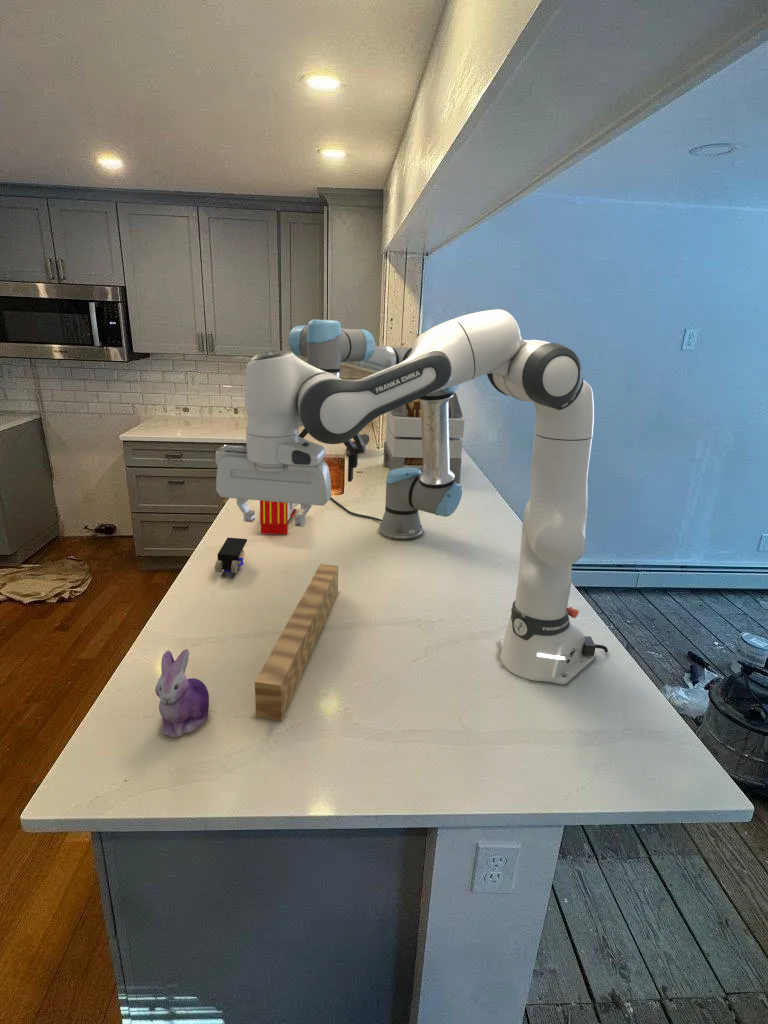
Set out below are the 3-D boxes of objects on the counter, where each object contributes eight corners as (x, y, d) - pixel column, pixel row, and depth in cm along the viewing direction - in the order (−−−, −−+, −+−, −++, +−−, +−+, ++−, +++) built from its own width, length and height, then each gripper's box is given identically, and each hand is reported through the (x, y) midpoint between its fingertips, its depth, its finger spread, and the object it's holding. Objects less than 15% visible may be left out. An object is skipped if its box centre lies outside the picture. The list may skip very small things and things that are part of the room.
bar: (320, 590, 158) (320, 563, 155) (337, 592, 157) (338, 565, 154) (255, 717, 108) (254, 682, 106) (281, 721, 108) (280, 685, 105)
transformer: (382, 463, 289) (386, 382, 275) (445, 464, 293) (451, 384, 279) (390, 482, 257) (394, 392, 243) (460, 483, 261) (468, 394, 247)
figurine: (162, 747, 100) (154, 675, 95) (155, 711, 109) (147, 644, 103) (217, 731, 104) (212, 662, 99) (206, 698, 113) (201, 633, 108)
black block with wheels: (238, 584, 162) (249, 557, 175) (236, 562, 158) (247, 536, 172) (215, 584, 161) (227, 556, 175) (212, 561, 158) (225, 535, 171)
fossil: (345, 440, 316) (366, 424, 311) (356, 453, 319) (377, 438, 314) (339, 453, 297) (361, 437, 292) (350, 467, 300) (373, 452, 295)
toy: (300, 483, 219) (290, 497, 190) (300, 516, 222) (290, 535, 192) (269, 482, 219) (254, 495, 189) (269, 515, 221) (254, 534, 192)
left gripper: (266, 388, 129) (268, 478, 136) (374, 395, 126) (371, 486, 134) (276, 384, 136) (278, 470, 143) (379, 391, 133) (375, 477, 141)
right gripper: (207, 448, 96) (212, 524, 100) (325, 457, 94) (325, 534, 98) (222, 440, 102) (226, 512, 106) (334, 448, 99) (333, 522, 104)
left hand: (323, 478), depth 138 cm, fingers open, 13 cm apart
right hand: (274, 523), depth 102 cm, fingers open, 8 cm apart
